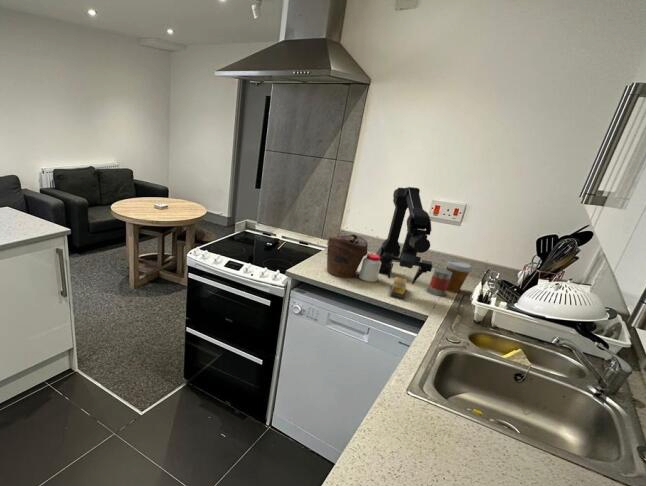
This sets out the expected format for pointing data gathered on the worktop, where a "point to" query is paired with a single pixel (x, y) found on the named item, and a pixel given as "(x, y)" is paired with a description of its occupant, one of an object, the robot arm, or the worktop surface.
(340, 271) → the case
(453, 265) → the disposable coffee cup
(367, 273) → the pill bottle
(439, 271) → the tin can
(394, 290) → the golden brown bar
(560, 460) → the worktop surface
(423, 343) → the worktop surface
